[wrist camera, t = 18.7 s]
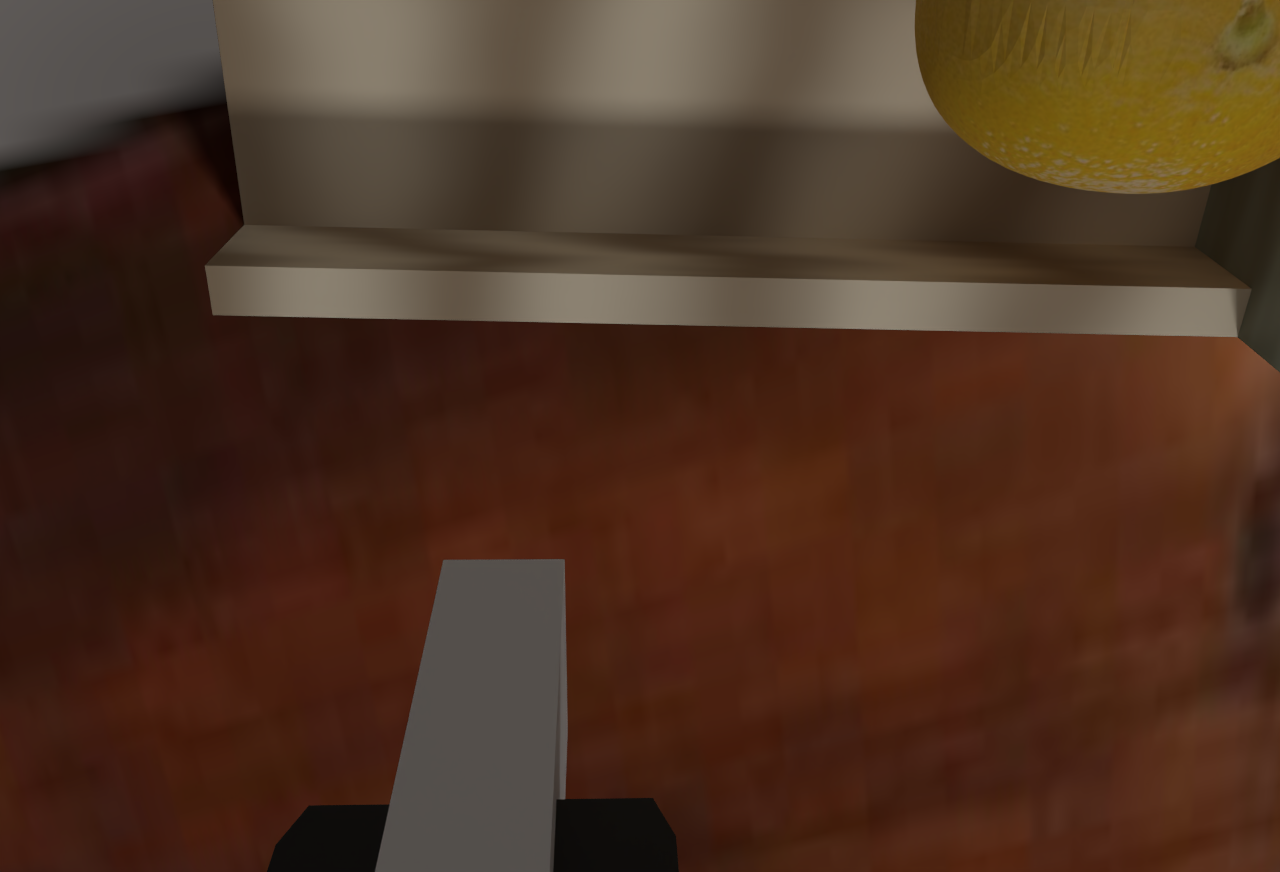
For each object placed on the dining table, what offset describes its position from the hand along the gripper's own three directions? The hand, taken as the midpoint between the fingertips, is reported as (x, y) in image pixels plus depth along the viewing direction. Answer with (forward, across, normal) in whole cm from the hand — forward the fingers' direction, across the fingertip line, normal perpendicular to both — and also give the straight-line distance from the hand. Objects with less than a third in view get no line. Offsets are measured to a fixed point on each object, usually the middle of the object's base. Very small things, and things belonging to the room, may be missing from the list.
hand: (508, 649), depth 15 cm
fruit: (+16, +12, +7) cm, 21 cm away
